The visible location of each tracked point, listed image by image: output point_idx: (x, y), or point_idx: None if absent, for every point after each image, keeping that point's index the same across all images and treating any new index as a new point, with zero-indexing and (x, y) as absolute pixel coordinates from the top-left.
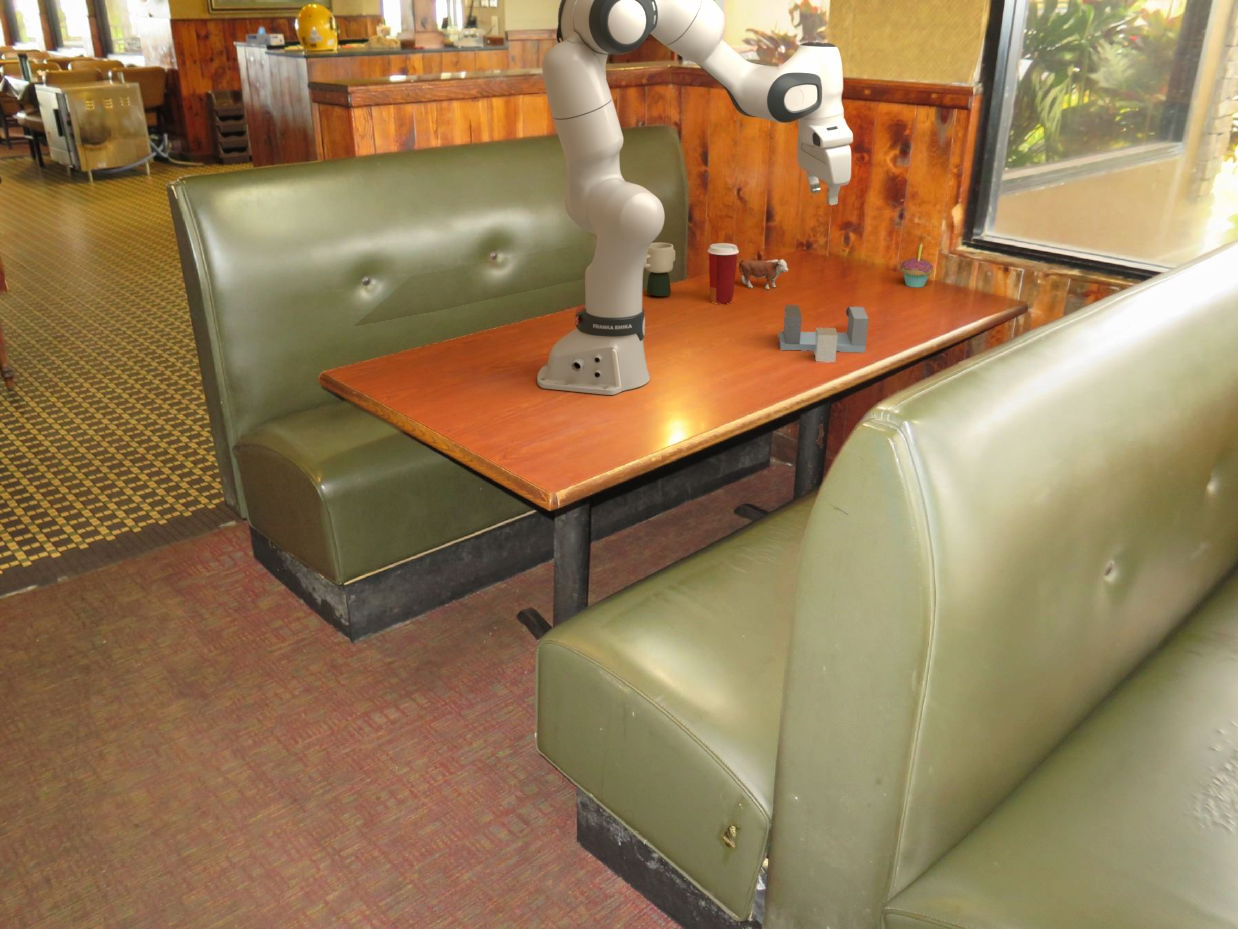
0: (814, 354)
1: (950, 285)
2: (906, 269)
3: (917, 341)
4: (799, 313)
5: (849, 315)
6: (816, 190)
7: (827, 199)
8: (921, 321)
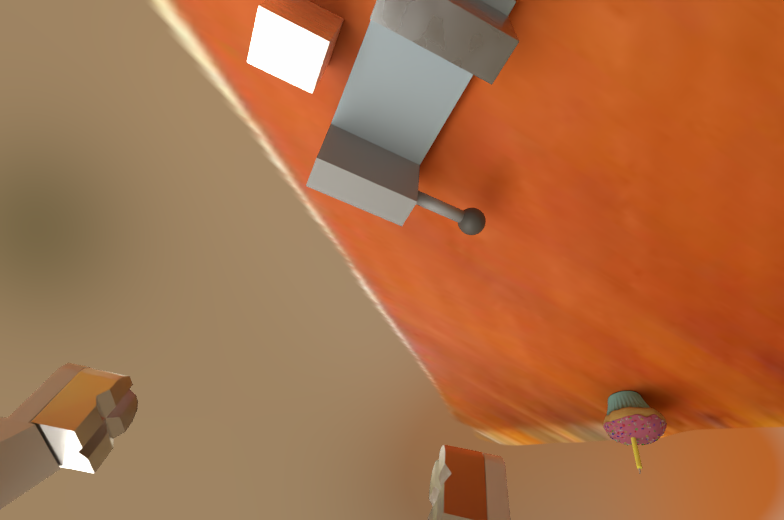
0: (329, 13)
1: (585, 421)
2: (637, 414)
3: (360, 257)
4: (407, 33)
5: (403, 184)
6: (439, 478)
7: (77, 395)
8: (456, 315)
